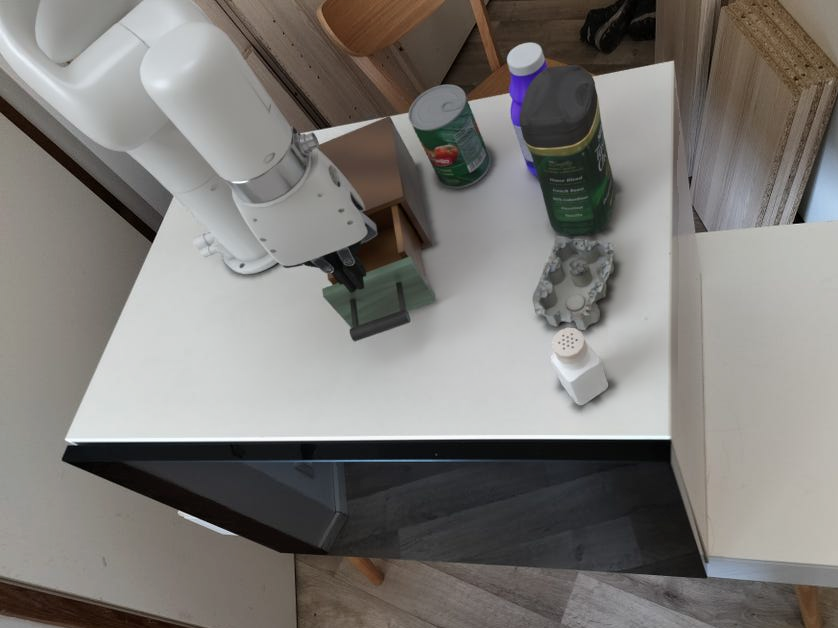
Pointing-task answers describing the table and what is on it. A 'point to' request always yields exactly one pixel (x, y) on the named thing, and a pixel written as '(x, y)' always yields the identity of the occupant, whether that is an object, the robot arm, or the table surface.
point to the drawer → (384, 278)
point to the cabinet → (380, 171)
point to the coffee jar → (569, 149)
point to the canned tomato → (450, 136)
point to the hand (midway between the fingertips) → (356, 280)
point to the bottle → (523, 86)
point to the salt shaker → (577, 366)
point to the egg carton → (574, 281)
